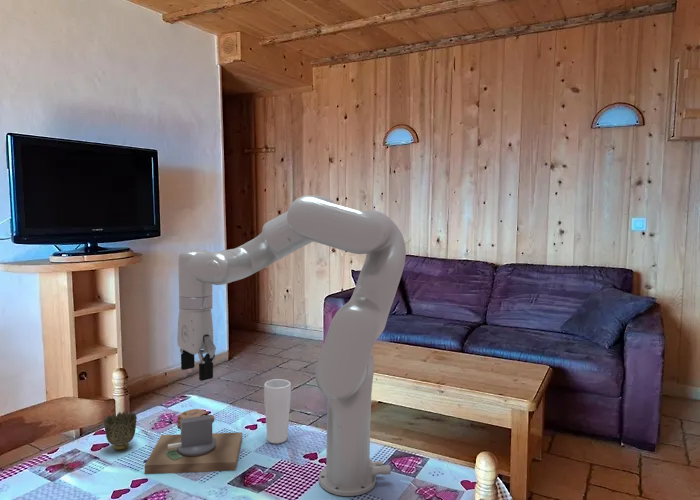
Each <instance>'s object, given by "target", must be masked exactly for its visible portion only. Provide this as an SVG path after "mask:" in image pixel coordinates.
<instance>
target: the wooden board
mask: <svg viewBox="0 0 700 500" xmlns="http://www.w3.org/2000/svg"><path fill="white" fill-rule="evenodd" d="M212 437H214V438H215V439H216V447H215V449H214V450H212V451H211V452H209V453H207V454H204V455H200V456H184V455H181V454H179V453H178V452H177V447H174V448H168V444H174V443H178V442H179V441H180V440H181V433H179V434H161V435H160V437H159V439H158V441H156V444H155V446H154V447H153V449H152V452H151V453H150V454H149V457H148V458H147V460H146V462H145V464H144V475H149V474H150V475H151V474H154V475H155V474H175V473H176V474H178V473H179V474H180V473H200V472H201V473H202V472H203V473H204V472H225V471H226V472H228V471H236V470H237V465H238V460H239V456H240V451H241V447H242V441H243V432H217V433H216V432H212Z"/></svg>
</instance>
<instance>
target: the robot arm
mask: <svg viewBox="0 0 700 500" xmlns="http://www.w3.org/2000/svg"><path fill="white" fill-rule="evenodd" d="M261 230H262V231H261V233H259V234H258V235H256V237H254V238H253V239H251V240H249V241H246V242H245V243H244V244H242V245H240V246H239V245H238V246H237V247H235V248H230V249H226V250H225V249H224V250H219V251H213V252H210V251H209V250H205V249H186V250H183V251H181V252H179V254H178V260H177V261H178V263H177V264H178V310H179V311H178V318H177V346H178V347H179V351H180V369H181V370H182V371H186V370H188V369H189V370H190V369H194V368H195V366H196V365H195V355H198V359H199V362H200V363H198V379H199V381H201V382H203V381H206V380H207V381H208V380H211V379H213V378H214V361H215V356H216V354H215V353H216V350H217V346H216V345H215V344H214V326H213V316H212V309H213V305H214V304H213V285H214V286H215V285H216V286H223V285H227V284H230V283H232V282H236V281H240V280H243V279H245V278H248V277H250V276H252V275H253V274H255V273H257V272H259V271H261V270H264V269H265V268H267V267H269V266H271V265H272V264H275V262H277V261H279V260H282V259H283V258H285V257H286V256H289V255H290V254H293V253H294V252H296V251H297V250H300V249H301V248H303V247H305V246H307V245H310V244H311V243H318V244H321V245H325V246H327V247H330V248H334V249H337V250H340V251H343V252H347V253H350V254H355V255H365V260H364V263H363V265H362V267H361V270H360V272H359V275H358V277H357V278H358V279H357V282H356V284H355V288H354V289H353V293H352V295H351V297H350V299H349V301H347V302H346V303H345V304H344V305H342V306H341V307H340V308H339V309H338V310H337V312H335V314H334V315H333V318H332V320H331V322H330V325H329V327H328V331H327V334H326V336H325V338H324V339H325V340H324V342H323V345H322V348H321V351H320V354H319V357H318V360H317V362H316V366H315V371H314V374H315V377H314V378H315V382H316V386H317V387H318V390H319V391H320V392H321V393H322V394H323V395H324V397H326V398H327V404H326V405H327V408H326V462H325V463H326V464H325V465H326V466H325V467H324V468H322V470H320V473H319V475H318V482H319V484H320V486H321V488H323V490H324V491H327V492H328V493H330V494H332V495H336V496H343V497H353V496H360V495H363V494H366V493H368V492H369V491H371V490H372V489H374V487H375V486H376V483H377V475H384V476H385V475H392V474H391V473H392V472H391V471H392V470H391V464H385V465H384V461H383V460H376V461H373V460H372V459H371V456H370V452H371V449H370V448H371V418H372V417H371V413H372V392H373V391H372V390H373V383H374V372H375V360H374V354H373V349H374V347H375V344H376V341H377V340H378V339H379V337H380V336H381V335H382V334H383V331H384V330H385V329H386V325H387V322H388V318H389V315H390V311H391V309H392V306H393V304H394V300H395V296H396V294H397V290H398V287H399V284H400V281H401V278H402V275H403V271H404V267H405V263H406V253H407V251H406V250H407V249H406V243H405V240H404V237H403V234H402V231H401V229H399V227H398V225H397V224H396V222H394V221H393V220H392V219H391V218H390V217H389V216H388V215H387V214H385V213H383V212H381V211H377V210H359V209H356V208H352V207H348V206H344V205H341V204H337V203H335V202H334V200H332V199H331V198H329V197H327V196H324V195H313V194H310V195H309V194H307V195H302V196H299V197H298V198H296V199H295V200H294V201H293V202H292V203H291V204H290V206H289V207H288V210H287V211H285V212H283V213H281V214H280V215H278V216H276V217H275V218H272V219H270V220H268V221H267V222H265V223H264V224H263V226H262V229H261ZM203 354H205V355H203Z"/></svg>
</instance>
